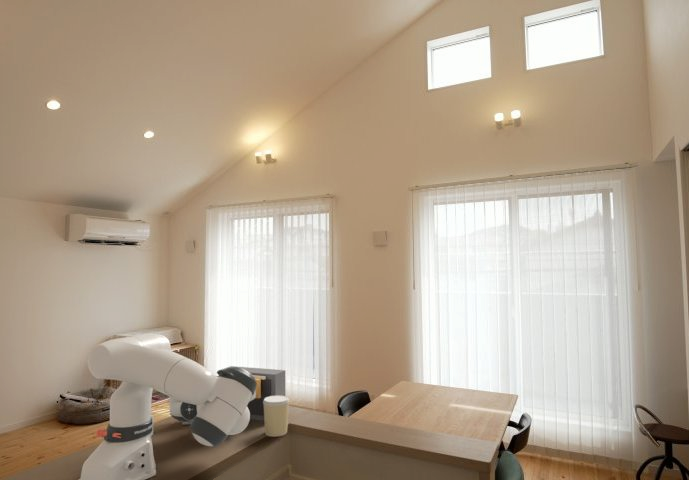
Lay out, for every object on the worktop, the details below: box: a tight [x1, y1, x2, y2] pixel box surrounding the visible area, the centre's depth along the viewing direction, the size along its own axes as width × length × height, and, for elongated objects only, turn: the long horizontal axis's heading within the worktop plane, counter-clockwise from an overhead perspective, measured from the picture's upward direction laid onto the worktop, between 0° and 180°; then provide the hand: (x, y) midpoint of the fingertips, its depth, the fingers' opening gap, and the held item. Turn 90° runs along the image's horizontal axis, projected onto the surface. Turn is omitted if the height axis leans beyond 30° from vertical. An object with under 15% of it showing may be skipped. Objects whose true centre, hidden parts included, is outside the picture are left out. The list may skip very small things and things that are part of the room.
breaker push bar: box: [255, 379, 261, 398], centre depth 177 cm, size 3×16×7 cm, turn 69°
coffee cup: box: [263, 395, 290, 438], centre depth 163 cm, size 9×9×12 cm
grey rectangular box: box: [220, 365, 286, 422], centre depth 182 cm, size 9×26×18 cm, turn 69°
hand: (241, 387), depth 176 cm, fingers open, 8 cm apart
